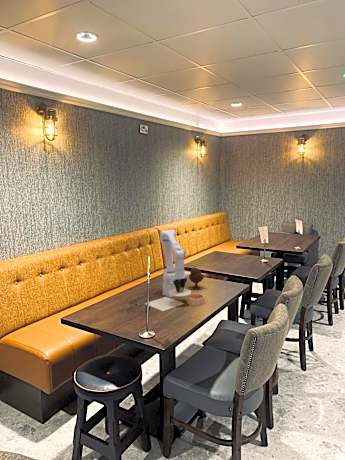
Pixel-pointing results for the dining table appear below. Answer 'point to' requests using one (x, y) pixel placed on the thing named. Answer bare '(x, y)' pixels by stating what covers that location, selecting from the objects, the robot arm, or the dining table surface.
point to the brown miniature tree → (196, 277)
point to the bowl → (196, 299)
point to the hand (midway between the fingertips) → (180, 290)
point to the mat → (164, 303)
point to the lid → (180, 292)
